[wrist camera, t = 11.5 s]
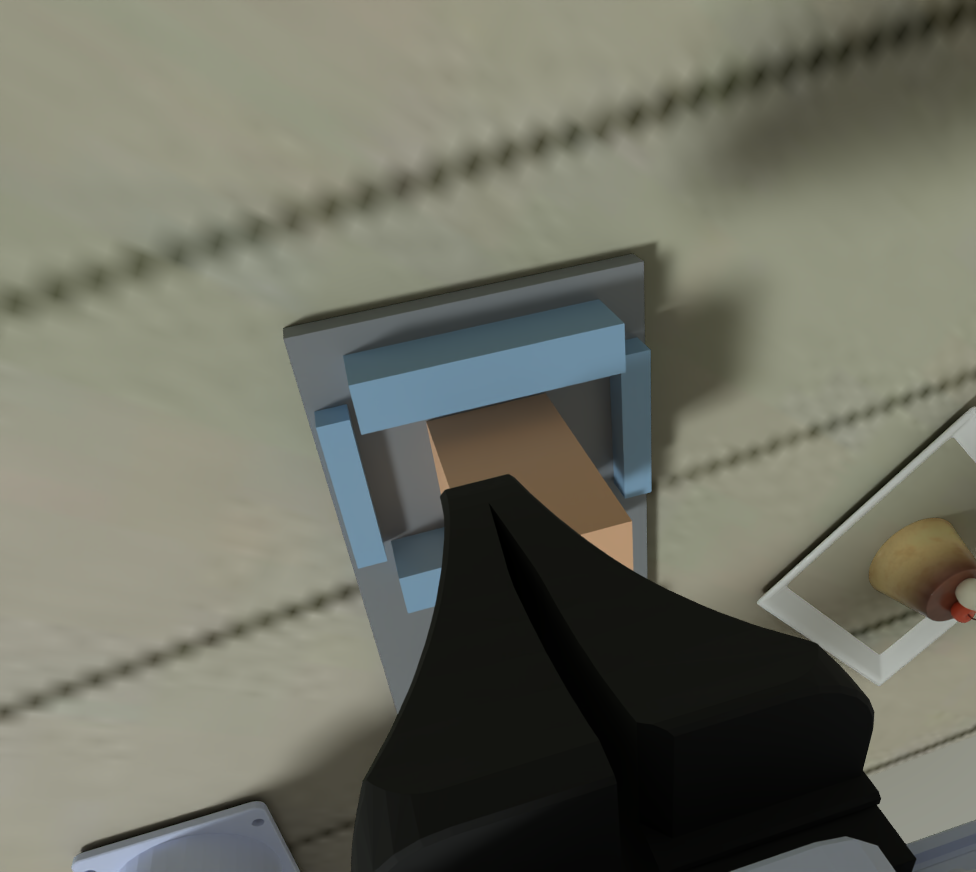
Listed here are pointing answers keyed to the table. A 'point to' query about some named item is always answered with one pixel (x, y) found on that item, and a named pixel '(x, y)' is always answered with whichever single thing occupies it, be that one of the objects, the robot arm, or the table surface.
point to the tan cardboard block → (533, 466)
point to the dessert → (896, 579)
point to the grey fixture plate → (461, 388)
